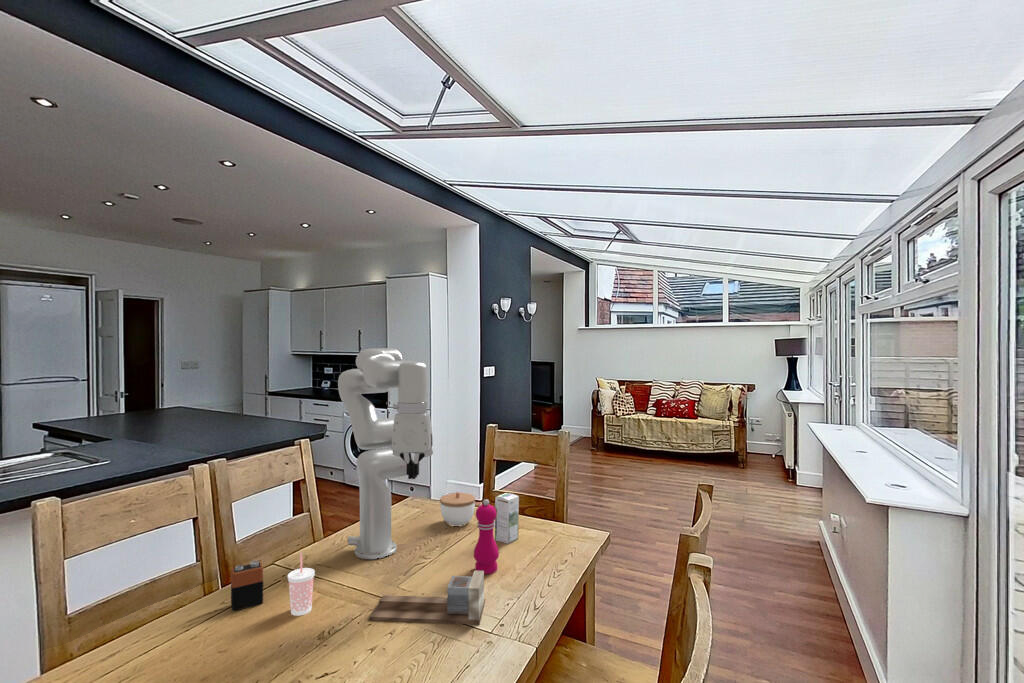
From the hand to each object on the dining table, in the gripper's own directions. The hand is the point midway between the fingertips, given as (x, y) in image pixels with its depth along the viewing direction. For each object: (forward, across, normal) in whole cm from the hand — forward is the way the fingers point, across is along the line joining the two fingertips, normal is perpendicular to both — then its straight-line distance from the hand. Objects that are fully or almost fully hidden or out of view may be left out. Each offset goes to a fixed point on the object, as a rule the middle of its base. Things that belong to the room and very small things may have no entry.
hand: (412, 477), depth 132 cm
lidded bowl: (+29, +3, +48) cm, 56 cm away
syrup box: (+29, +22, +34) cm, 50 cm away
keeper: (+28, +15, -11) cm, 33 cm away
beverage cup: (+29, -24, -13) cm, 40 cm away
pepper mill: (+29, +18, +12) cm, 36 cm away
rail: (+29, +7, -11) cm, 32 cm away
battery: (+29, -39, -11) cm, 50 cm away
